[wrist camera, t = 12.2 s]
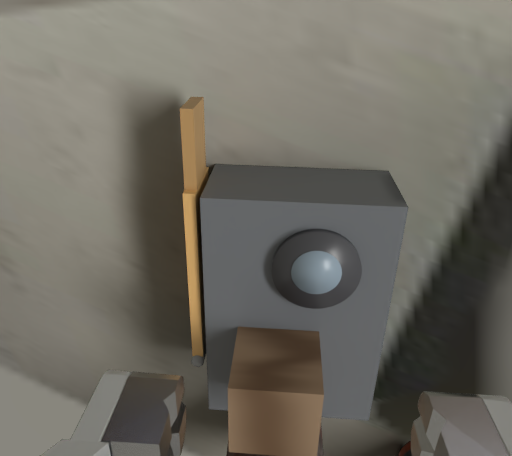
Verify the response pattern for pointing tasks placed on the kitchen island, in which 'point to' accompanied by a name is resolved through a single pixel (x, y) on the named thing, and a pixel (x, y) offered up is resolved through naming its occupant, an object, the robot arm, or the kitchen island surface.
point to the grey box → (302, 269)
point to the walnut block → (275, 392)
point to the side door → (194, 217)
